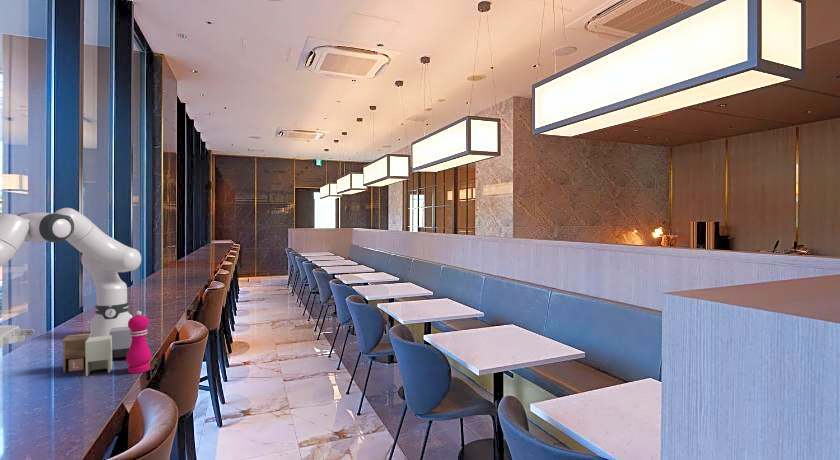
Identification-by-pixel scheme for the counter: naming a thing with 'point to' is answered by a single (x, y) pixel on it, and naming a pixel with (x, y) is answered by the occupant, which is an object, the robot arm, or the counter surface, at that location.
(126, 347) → the cover
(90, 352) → the cover
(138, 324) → the pepper mill
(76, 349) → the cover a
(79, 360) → the letter cube
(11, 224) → the robot arm
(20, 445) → the counter surface
